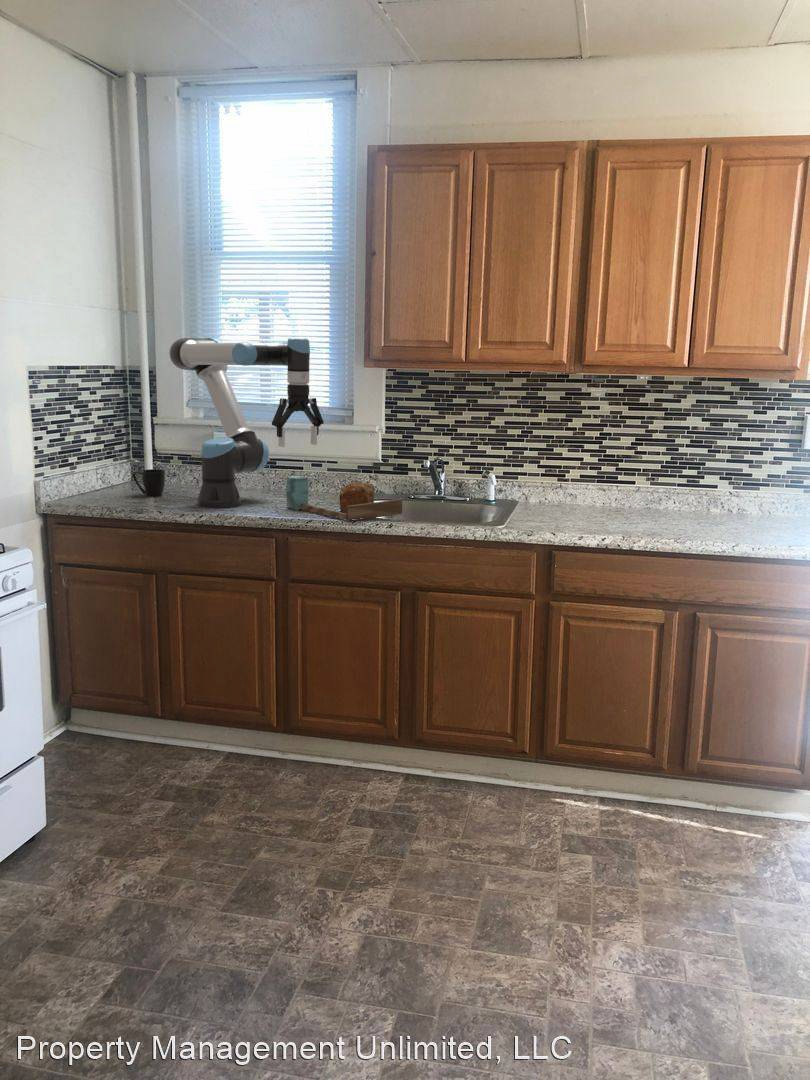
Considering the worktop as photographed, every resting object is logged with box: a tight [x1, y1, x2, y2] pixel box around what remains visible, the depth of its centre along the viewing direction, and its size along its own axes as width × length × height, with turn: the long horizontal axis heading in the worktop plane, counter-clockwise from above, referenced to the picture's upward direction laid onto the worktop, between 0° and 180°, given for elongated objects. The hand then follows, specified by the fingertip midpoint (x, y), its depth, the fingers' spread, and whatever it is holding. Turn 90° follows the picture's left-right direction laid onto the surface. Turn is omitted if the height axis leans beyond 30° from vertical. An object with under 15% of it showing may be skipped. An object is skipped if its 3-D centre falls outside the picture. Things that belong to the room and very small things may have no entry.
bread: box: [339, 481, 376, 514], centre depth 323 cm, size 19×11×10 cm, turn 174°
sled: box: [286, 475, 403, 521], centre depth 320 cm, size 33×26×11 cm
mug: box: [132, 468, 166, 498], centre depth 345 cm, size 8×12×10 cm
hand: (297, 445), depth 319 cm, fingers open, 13 cm apart
